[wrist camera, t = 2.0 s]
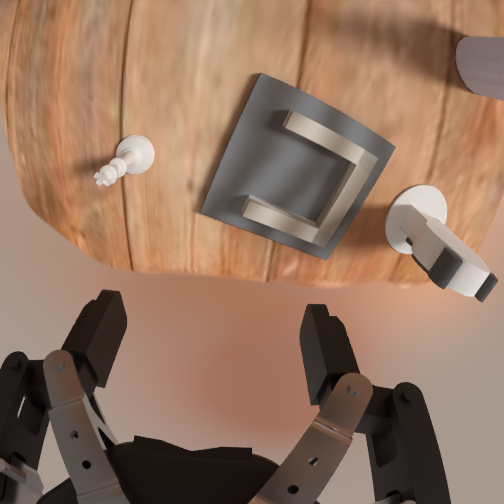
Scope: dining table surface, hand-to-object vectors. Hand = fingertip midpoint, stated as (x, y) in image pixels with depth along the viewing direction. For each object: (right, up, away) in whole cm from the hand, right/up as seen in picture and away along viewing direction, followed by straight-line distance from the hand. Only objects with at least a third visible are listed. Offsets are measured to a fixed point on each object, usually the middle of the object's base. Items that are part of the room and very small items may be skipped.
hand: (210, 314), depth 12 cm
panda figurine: (+26, +7, +24) cm, 36 cm away
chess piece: (-12, +14, +19) cm, 27 cm away
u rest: (+7, +12, +21) cm, 25 cm away
